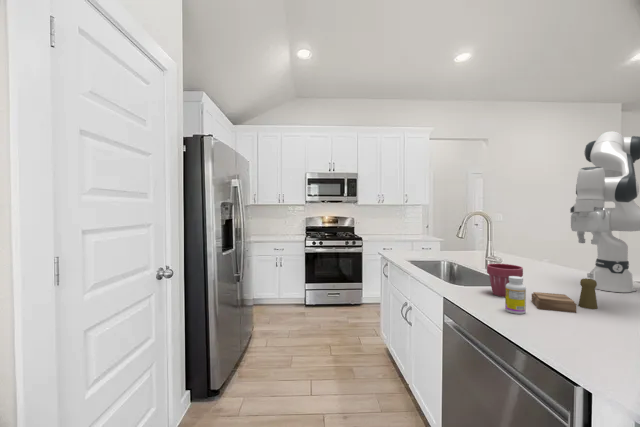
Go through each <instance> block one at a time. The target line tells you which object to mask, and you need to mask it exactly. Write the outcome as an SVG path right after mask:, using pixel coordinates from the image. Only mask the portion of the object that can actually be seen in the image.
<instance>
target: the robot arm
mask: <svg viewBox="0 0 640 427" xmlns="http://www.w3.org/2000/svg"><path fill="white" fill-rule="evenodd" d="M583 152H584V153H583V154H584V157H585V159H586V161H587V162H589V163H592V165H593V166H589V167H588V166H587V167H582V168H579V170H578V174H577V178H576V185H575V194H576V198H575V203H574V204H573V206H571V207H570V209H569V213H571V215H570V229H571V232H576V236H577V238H578V240H577V241H578V243H579V244H586V238H585V234H586V233H591V235H592V239H590V241H591V242H590V244H591V245H596V246H597V247H596V248H597V258H596V260H595V264H594V265H595V267H594V268H593V269H592V270H591V271H590V272H587V273H586V277H587V279H593V280H595V281H596V282H597V286H596V288H595V290H601V291H604V292H605V291H606V292H614V293H633V292H637V288H635V287H634V280H633V274H632V272H631V271H630V270H629V269H630V268H629V267H630V262H629V245H628V243H626V242H625V241H624V240H622V239H620V238H618V237H616V236H614V234H613V232H640V206H639V205H638V203H636V202H635V201H634V200H635V199H637V198H638V195H639V193H640V184H639V182H638V181H637V178H636V176H637V175H636V170H635V163H636V161H638V160H640V136H636V135H633V136H623V134H621V133H620V132H617V131H612V130H611V131H606V132H603V133H601V135H599V136H598V137H597V139H596V140H593V141H590V142H588V143H587V144H586V145H585V148H584V151H583ZM605 202H608V203H610V202H613V203H614V204H615V206H614V207H605V204H606V203H605Z"/></svg>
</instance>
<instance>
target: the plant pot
mask: <svg viewBox="0 0 640 427" xmlns="http://www.w3.org/2000/svg"><path fill="white" fill-rule="evenodd" d="M486 273H487V274H488V276H489V281H490V286H491V292H492V294H493V295H495V296H498V297H504V298H505V296H506V284H507V283H509V276H518V277H522V278H523V276H524V268H523V266H519V265H514V264H508V263H488V264H487V265H486Z"/></svg>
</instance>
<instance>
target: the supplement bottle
mask: <svg viewBox="0 0 640 427" xmlns="http://www.w3.org/2000/svg"><path fill="white" fill-rule="evenodd" d="M523 283H524V277H523V276H522V277H518V276H509V283H507V284H506V296H505V297H504V298H505V299H504V300H505V302H504V306H505V311H506V312H508V313H510V314H515V315H516V314H517V315H523V314H525V313H526V312H527V311H526V310H527V308H526V307H527V286H526V285H525V284H523Z"/></svg>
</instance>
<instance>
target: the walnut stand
mask: <svg viewBox="0 0 640 427" xmlns="http://www.w3.org/2000/svg"><path fill="white" fill-rule="evenodd" d="M531 302H532V304H533V305H534V306H535V307H536V308H537V309H538V310H544V311H553V312H564V313H575V314H576V313H577V306H578V305H577V303H576V302H575V301H574V299H572V298H570V297H569V296H567V295H566V294H564V293H563V294H561V293H550V292H539V291H537V292H536V291H533V293H531Z"/></svg>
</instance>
